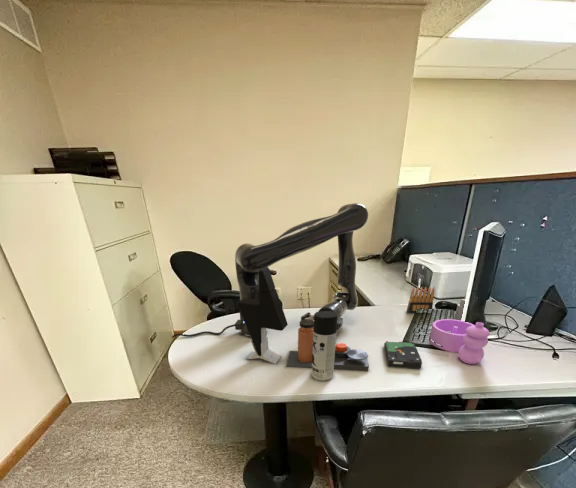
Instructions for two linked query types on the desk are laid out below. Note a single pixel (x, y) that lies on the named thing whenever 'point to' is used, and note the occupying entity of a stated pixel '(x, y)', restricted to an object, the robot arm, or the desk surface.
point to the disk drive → (402, 355)
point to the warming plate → (357, 354)
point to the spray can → (324, 345)
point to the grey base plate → (349, 362)
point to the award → (263, 316)
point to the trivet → (296, 361)
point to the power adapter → (459, 310)
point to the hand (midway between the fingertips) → (314, 328)
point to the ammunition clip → (420, 299)
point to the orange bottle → (305, 341)
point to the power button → (341, 347)
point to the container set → (460, 338)
